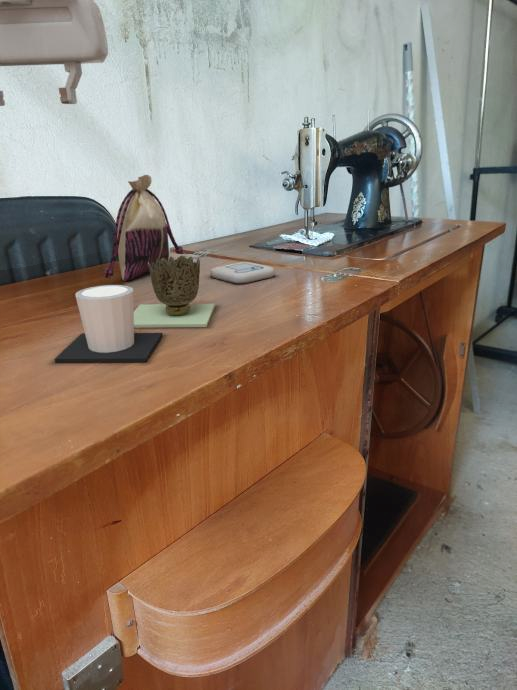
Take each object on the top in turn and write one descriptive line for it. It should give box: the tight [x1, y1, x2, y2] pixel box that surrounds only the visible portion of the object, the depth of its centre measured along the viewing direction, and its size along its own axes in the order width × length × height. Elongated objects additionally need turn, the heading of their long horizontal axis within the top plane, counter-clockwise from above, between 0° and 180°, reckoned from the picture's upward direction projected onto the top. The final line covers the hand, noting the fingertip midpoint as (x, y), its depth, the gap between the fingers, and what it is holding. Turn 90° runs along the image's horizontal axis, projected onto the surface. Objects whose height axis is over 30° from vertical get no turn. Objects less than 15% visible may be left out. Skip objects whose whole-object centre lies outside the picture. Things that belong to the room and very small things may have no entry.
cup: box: [148, 255, 201, 316], centre depth 76 cm, size 8×7×8 cm
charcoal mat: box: [54, 332, 163, 364], centre depth 65 cm, size 11×9×1 cm
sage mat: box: [134, 303, 216, 329], centre depth 77 cm, size 12×10×1 cm
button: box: [210, 261, 276, 285], centre depth 100 cm, size 10×2×10 cm
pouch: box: [103, 174, 184, 282], centre depth 102 cm, size 25×8×19 cm, turn 162°
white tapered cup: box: [75, 284, 135, 353], centre depth 64 cm, size 7×7×7 cm
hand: (32, 104), depth 66 cm, fingers open, 8 cm apart
